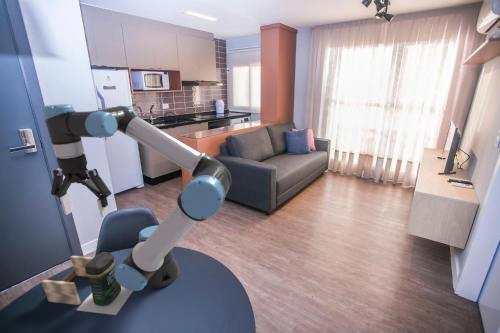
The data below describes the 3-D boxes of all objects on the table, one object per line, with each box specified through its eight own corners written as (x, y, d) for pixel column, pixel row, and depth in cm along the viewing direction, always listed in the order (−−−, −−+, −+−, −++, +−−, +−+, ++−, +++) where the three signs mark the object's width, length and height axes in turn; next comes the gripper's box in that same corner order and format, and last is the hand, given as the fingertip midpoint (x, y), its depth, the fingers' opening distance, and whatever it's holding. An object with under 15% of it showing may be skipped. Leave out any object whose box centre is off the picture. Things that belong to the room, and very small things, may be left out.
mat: (137, 284, 103) (137, 284, 103) (116, 315, 90) (115, 314, 90) (102, 281, 105) (102, 281, 105) (76, 310, 92) (76, 309, 92)
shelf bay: (104, 276, 108) (99, 257, 104) (78, 304, 94) (72, 284, 91) (75, 273, 110) (69, 255, 106) (46, 301, 96) (38, 281, 93)
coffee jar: (109, 308, 92) (98, 268, 86) (90, 305, 93) (78, 266, 87) (125, 287, 101) (116, 250, 95) (108, 285, 102) (98, 248, 96)
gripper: (114, 152, 79) (126, 210, 87) (46, 150, 83) (63, 206, 90) (98, 159, 72) (113, 222, 80) (24, 157, 76) (44, 217, 83)
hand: (86, 214), depth 85 cm, fingers open, 13 cm apart
